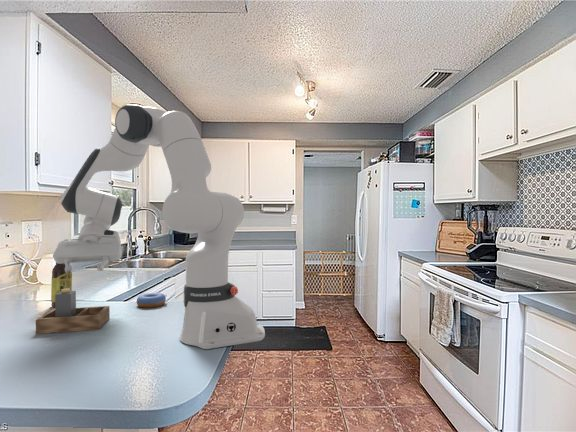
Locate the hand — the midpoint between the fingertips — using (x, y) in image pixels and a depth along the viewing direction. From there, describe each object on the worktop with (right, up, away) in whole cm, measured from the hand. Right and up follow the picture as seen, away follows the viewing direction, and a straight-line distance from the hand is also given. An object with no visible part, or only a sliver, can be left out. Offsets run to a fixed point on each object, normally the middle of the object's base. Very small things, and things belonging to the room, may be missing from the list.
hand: (83, 270), depth 114 cm
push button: (0, -14, -9) cm, 17 cm away
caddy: (+3, -15, -9) cm, 18 cm away
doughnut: (+16, -15, +15) cm, 27 cm away
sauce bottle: (-16, -15, +15) cm, 27 cm away
